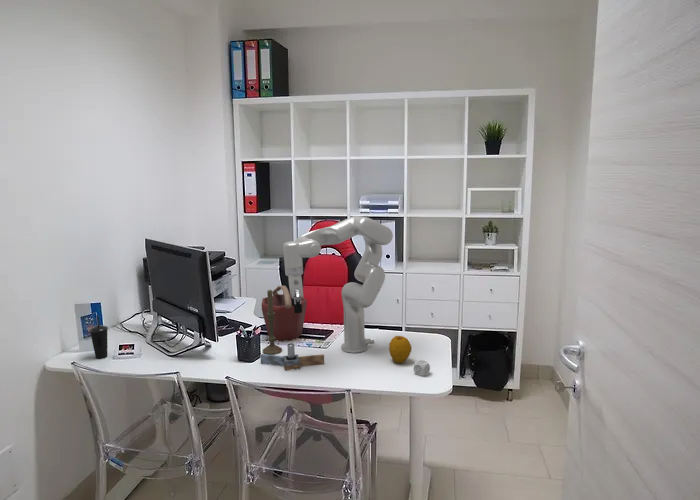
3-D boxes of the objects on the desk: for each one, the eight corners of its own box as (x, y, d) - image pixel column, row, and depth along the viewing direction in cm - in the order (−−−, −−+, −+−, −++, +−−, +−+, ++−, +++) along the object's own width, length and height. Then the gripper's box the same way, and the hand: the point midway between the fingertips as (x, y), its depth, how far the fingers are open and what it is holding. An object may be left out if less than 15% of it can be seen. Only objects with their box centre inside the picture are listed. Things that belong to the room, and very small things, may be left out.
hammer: (321, 356, 229) (321, 348, 228) (325, 366, 218) (325, 357, 218) (260, 362, 223) (260, 353, 223) (261, 372, 213) (261, 363, 212)
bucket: (265, 328, 268) (263, 282, 263) (306, 326, 270) (305, 280, 266) (262, 345, 244) (260, 295, 239) (308, 342, 246) (306, 293, 242)
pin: (294, 364, 220) (294, 343, 219) (295, 367, 218) (294, 345, 216) (287, 365, 220) (287, 343, 218) (288, 368, 217) (287, 346, 215)
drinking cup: (114, 355, 234) (110, 313, 230) (100, 361, 227) (95, 318, 224) (103, 352, 237) (98, 311, 234) (88, 358, 230) (83, 316, 227)
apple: (414, 359, 224) (414, 334, 222) (405, 367, 216) (406, 341, 214) (394, 355, 229) (394, 331, 227) (385, 363, 220) (385, 337, 218)
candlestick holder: (278, 355, 231) (275, 292, 225) (259, 354, 233) (256, 291, 227) (284, 348, 240) (282, 286, 234) (266, 346, 242) (263, 286, 236)
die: (430, 373, 210) (430, 362, 209) (423, 377, 206) (423, 365, 206) (420, 370, 213) (420, 358, 212) (413, 374, 210) (413, 362, 209)
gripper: (305, 274, 206) (308, 314, 210) (300, 265, 223) (303, 302, 226) (287, 276, 205) (290, 316, 208) (283, 266, 221) (286, 304, 225)
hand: (296, 309), depth 217 cm, fingers open, 9 cm apart
